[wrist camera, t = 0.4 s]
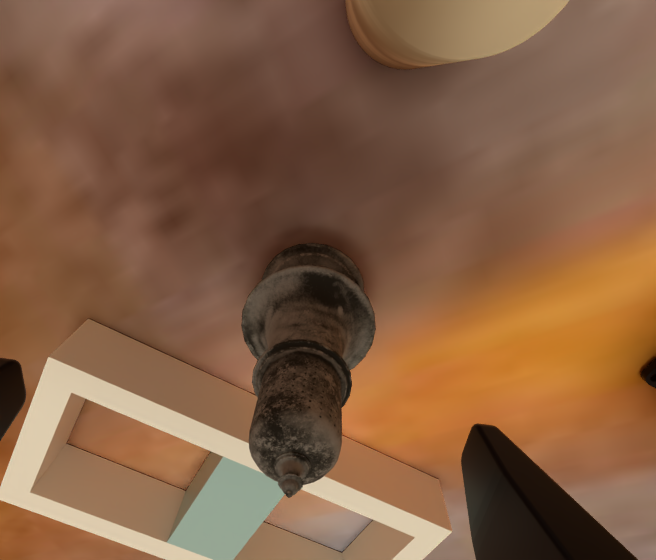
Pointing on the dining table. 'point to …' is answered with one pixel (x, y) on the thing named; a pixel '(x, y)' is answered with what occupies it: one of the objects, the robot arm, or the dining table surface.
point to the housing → (212, 478)
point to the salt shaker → (304, 360)
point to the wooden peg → (444, 28)
